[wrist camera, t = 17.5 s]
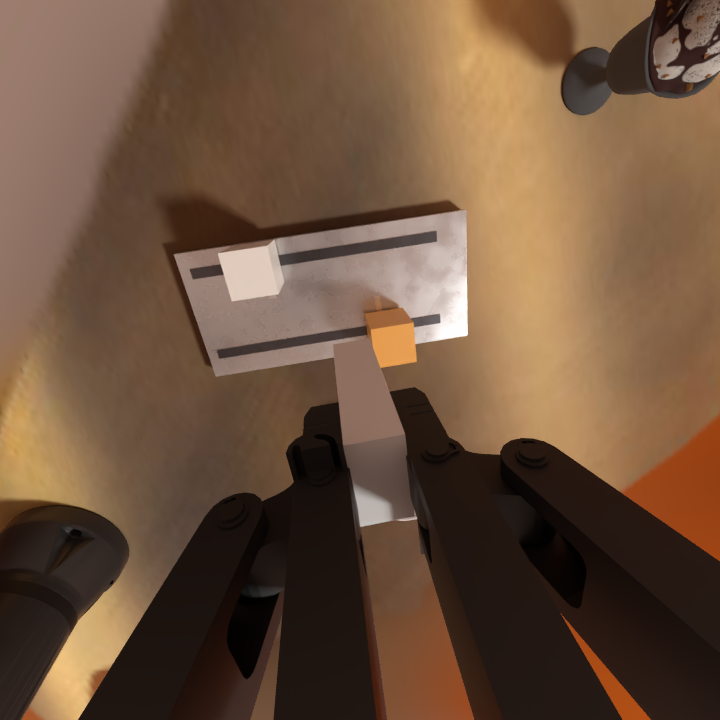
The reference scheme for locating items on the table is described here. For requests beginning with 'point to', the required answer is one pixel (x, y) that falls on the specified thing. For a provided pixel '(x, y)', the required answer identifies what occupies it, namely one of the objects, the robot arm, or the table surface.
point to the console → (334, 291)
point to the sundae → (651, 57)
